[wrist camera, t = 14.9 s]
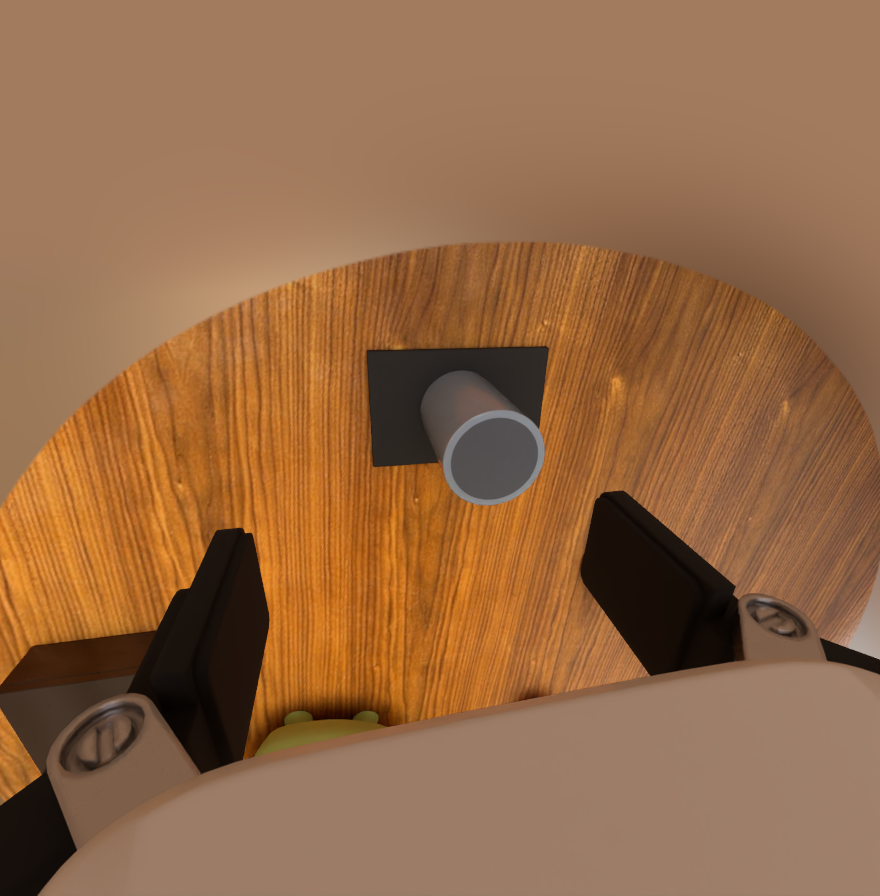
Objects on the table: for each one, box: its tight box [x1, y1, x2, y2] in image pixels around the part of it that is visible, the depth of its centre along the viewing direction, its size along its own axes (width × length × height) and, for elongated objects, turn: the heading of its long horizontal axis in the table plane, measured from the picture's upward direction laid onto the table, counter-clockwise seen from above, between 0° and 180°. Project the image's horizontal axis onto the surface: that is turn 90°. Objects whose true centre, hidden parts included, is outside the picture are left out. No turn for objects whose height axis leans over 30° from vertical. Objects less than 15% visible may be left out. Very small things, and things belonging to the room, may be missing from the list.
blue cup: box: [420, 370, 545, 505], centre depth 32 cm, size 7×7×10 cm
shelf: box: [0, 631, 156, 775], centre depth 38 cm, size 12×12×9 cm
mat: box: [367, 346, 549, 467], centre depth 36 cm, size 15×10×1 cm, turn 89°
